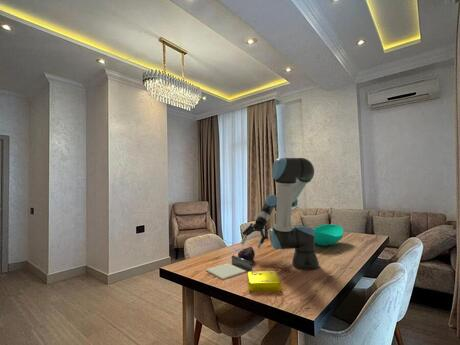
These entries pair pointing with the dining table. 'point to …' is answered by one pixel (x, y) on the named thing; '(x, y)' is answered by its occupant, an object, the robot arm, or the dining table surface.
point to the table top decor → (328, 234)
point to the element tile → (263, 281)
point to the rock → (247, 254)
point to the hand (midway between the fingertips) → (249, 245)
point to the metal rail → (242, 263)
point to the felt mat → (225, 271)
